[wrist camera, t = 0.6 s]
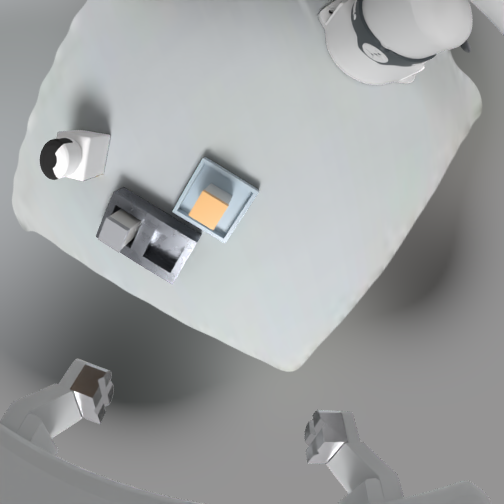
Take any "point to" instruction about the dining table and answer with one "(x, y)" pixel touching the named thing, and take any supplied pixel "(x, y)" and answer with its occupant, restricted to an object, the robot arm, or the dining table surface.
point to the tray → (227, 182)
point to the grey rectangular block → (119, 229)
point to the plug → (210, 206)
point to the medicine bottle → (75, 155)
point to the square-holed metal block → (154, 236)
